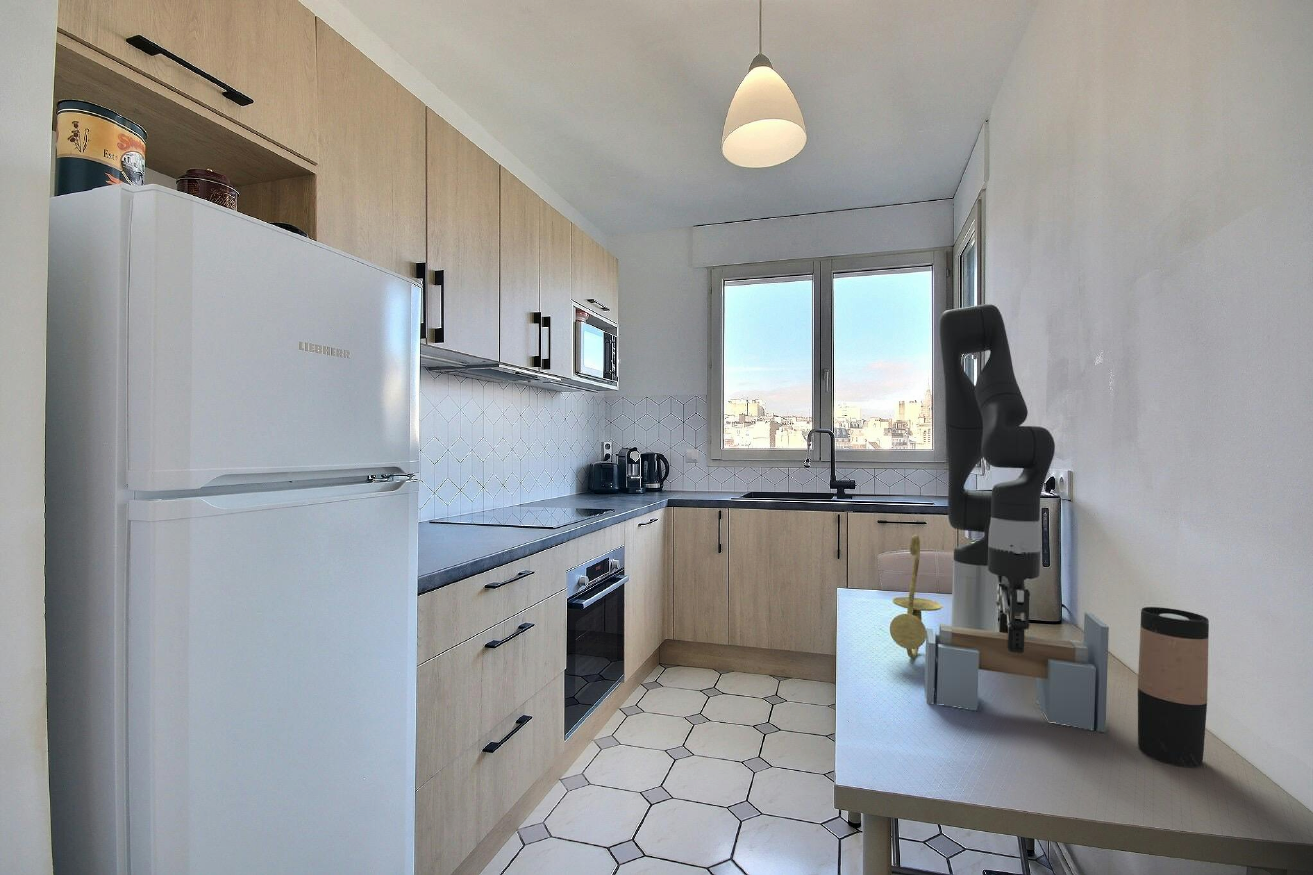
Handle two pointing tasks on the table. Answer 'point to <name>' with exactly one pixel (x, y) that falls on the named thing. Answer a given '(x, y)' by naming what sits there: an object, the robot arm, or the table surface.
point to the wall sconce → (912, 611)
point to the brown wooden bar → (1002, 660)
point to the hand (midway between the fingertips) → (1010, 643)
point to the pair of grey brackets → (1062, 696)
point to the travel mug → (1173, 685)
